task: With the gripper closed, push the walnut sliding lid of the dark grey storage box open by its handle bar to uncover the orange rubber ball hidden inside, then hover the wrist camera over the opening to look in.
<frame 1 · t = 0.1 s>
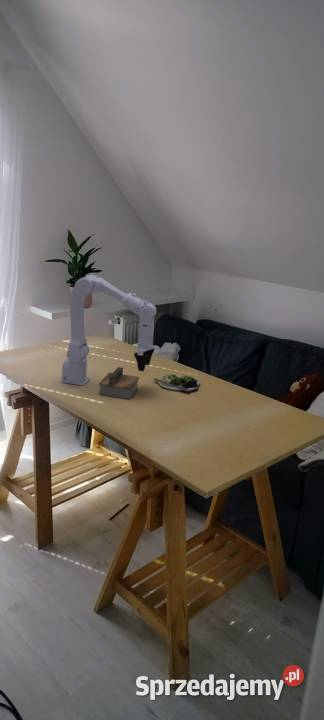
hand: (143, 367, 202), 10 cm above the table, tool pointing down, fingers open, 7 cm apart
ball: (112, 385, 203), point 2 cm above the table, touching storage box
salad plate: (180, 386, 216), on the table
storage box: (119, 391, 203), on the table
lid: (119, 377, 202), point 6 cm above the table, slide at 0.0 cm
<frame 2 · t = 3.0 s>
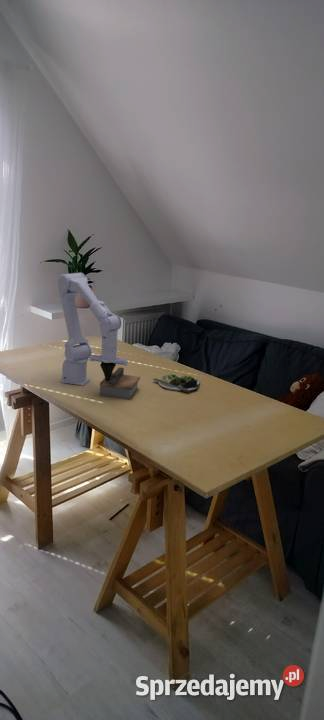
hand: (107, 380, 198), 6 cm above the table, tool pointing down, fingers closed
lid: (120, 377, 202), point 6 cm above the table, slide at 0.3 cm, touching gripper
everything else where it was.
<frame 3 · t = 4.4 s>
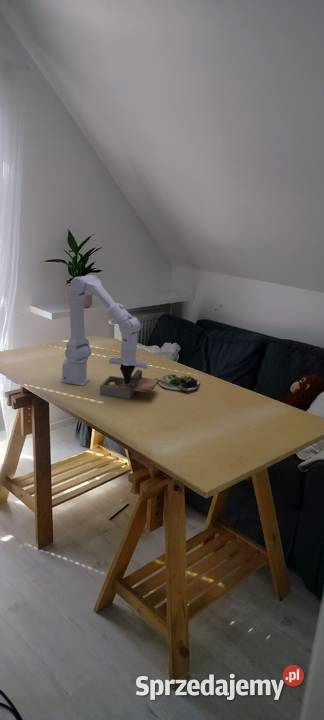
hand: (127, 383, 197), 6 cm above the table, tool pointing down, fingers closed
lid: (139, 380, 200), point 6 cm above the table, slide at 8.0 cm, touching gripper
everything else where it was.
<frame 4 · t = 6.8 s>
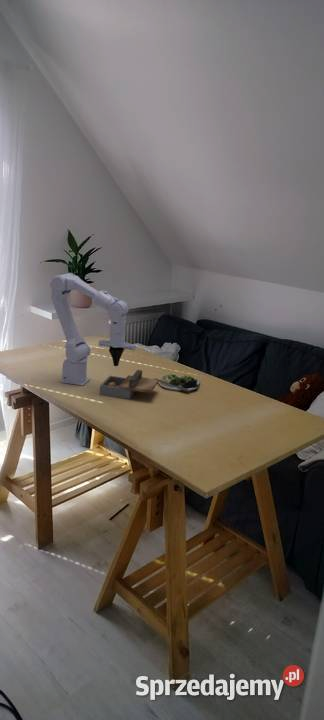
hand: (116, 365, 201), 10 cm above the table, tool pointing down, fingers closed
lid: (139, 380, 200), point 6 cm above the table, slide at 8.0 cm
everything else where it was.
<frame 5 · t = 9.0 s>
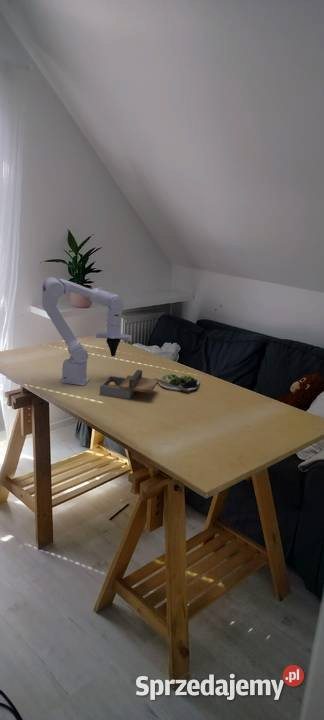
hand: (113, 355, 213), 10 cm above the table, tool pointing down, fingers closed
nothing on the table moved.
at the end: lid slide at 8.0 cm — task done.
